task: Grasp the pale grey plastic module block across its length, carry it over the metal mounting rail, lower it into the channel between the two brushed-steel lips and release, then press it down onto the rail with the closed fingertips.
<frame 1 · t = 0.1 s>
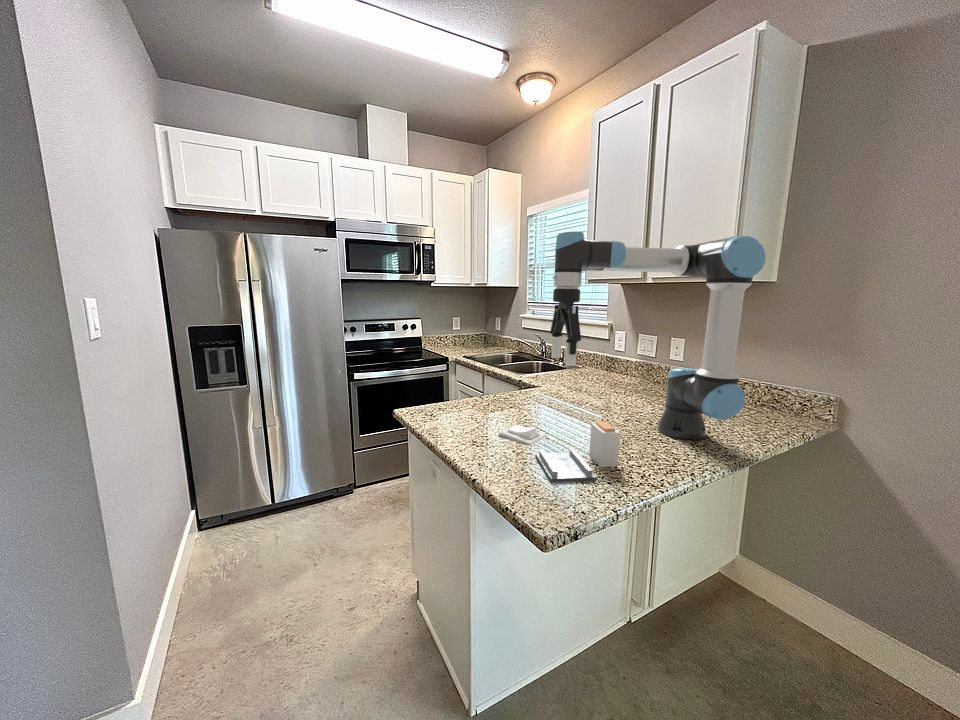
hand: (562, 361, 114), 28 cm above the countertop, fingers open, 13 cm apart
light switch: (522, 437, 131), on the countertop
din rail: (563, 467, 107), on the countertop
module: (602, 460, 112), on the countertop
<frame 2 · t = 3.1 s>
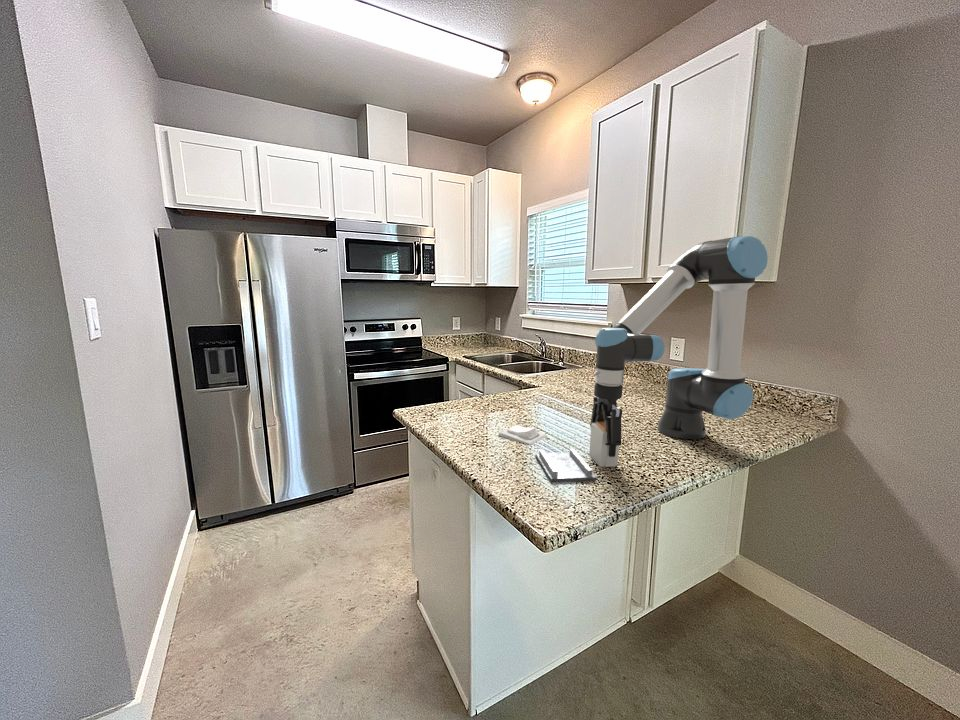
hand: (602, 459, 112), 0 cm above the countertop, fingers closed on module, 8 cm apart
module: (602, 460, 112), on the countertop, touching gripper
everything else where it was.
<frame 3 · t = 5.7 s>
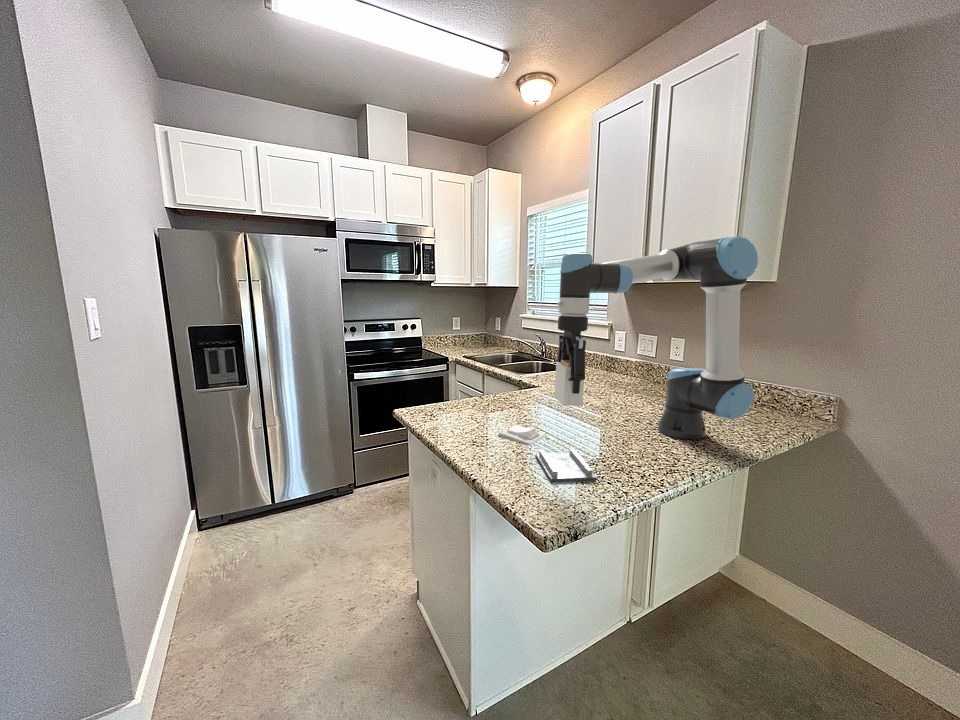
hand: (567, 400, 104), 19 cm above the countertop, fingers closed on module, 8 cm apart
module: (567, 401, 104), point 19 cm above the countertop, touching gripper
everything else where it was.
when the fingers open (3 cm above the countertop, at t = 8.6 s): module drops 1 cm, resting on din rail.
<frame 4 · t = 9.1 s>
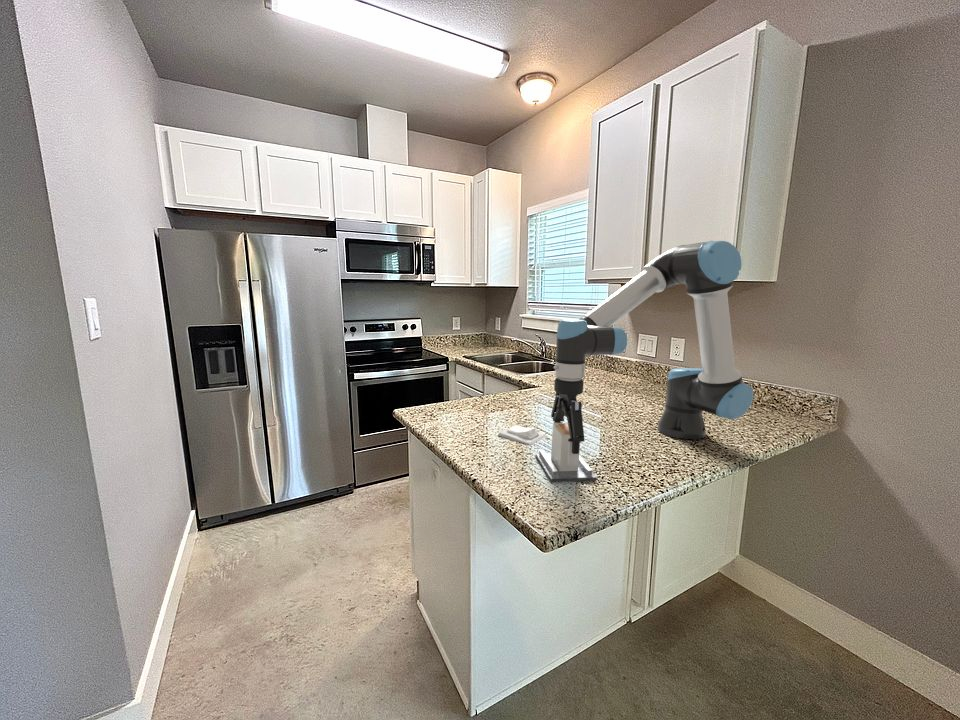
hand: (564, 453, 106), 4 cm above the countertop, fingers open, 13 cm apart
module: (564, 464, 107), point 1 cm above the countertop, touching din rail
everything else where it was.
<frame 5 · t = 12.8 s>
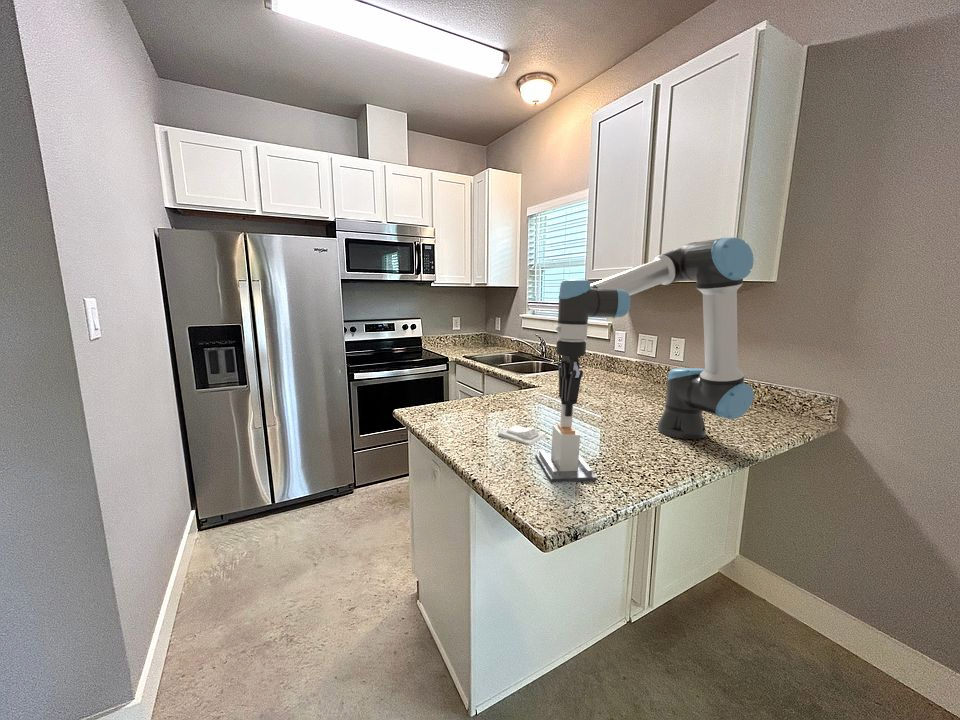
hand: (565, 426, 105), 12 cm above the countertop, fingers closed
module: (564, 464, 107), point 1 cm above the countertop, touching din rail, gripper
everything else where it was.
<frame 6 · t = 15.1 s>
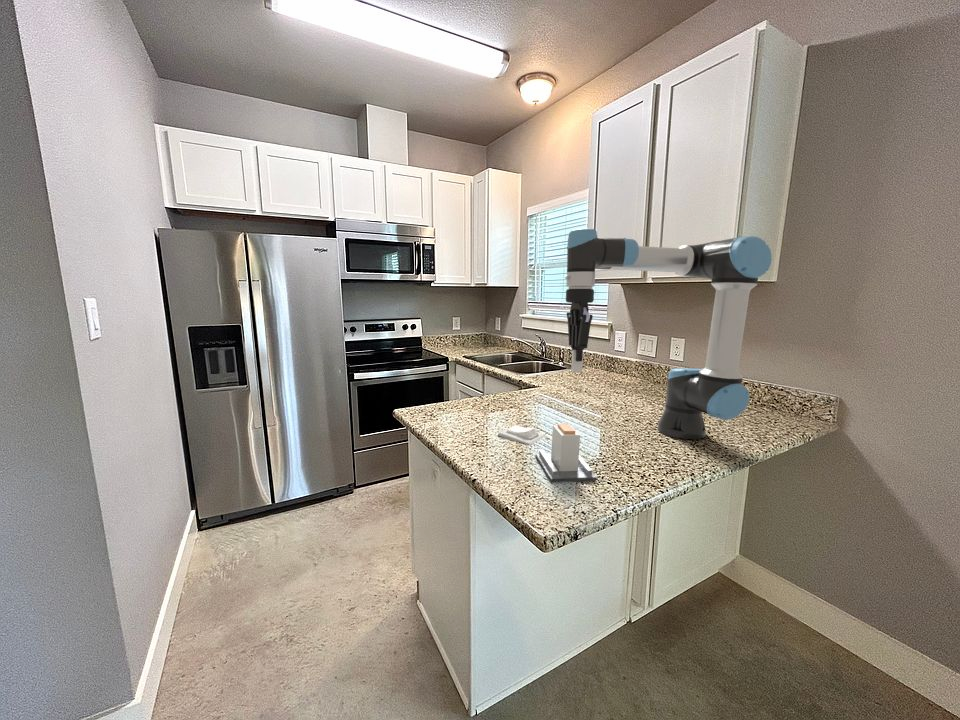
hand: (576, 371, 110), 26 cm above the countertop, fingers closed
module: (564, 464, 107), point 1 cm above the countertop, touching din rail
everything else where it was.
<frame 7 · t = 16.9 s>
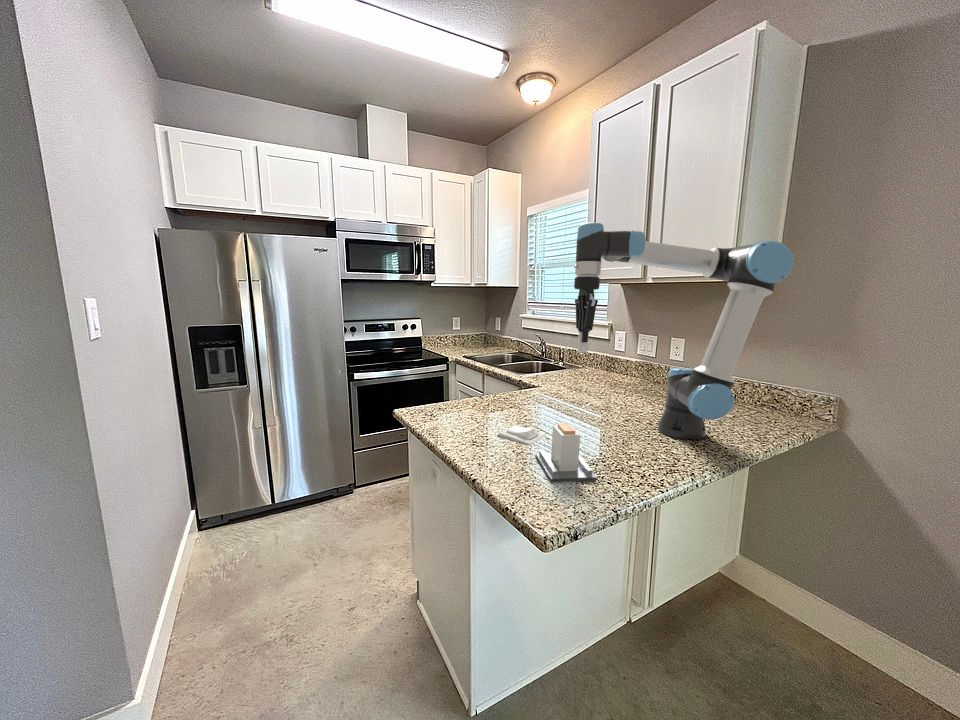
hand: (582, 352, 123), 29 cm above the countertop, fingers closed
nothing on the countertop moved.
at the end: module inside the target area on the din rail (0.0 cm from its centre), point 1.0 cm above the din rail's base; module tilted 0°; the gripper is holding nothing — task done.
